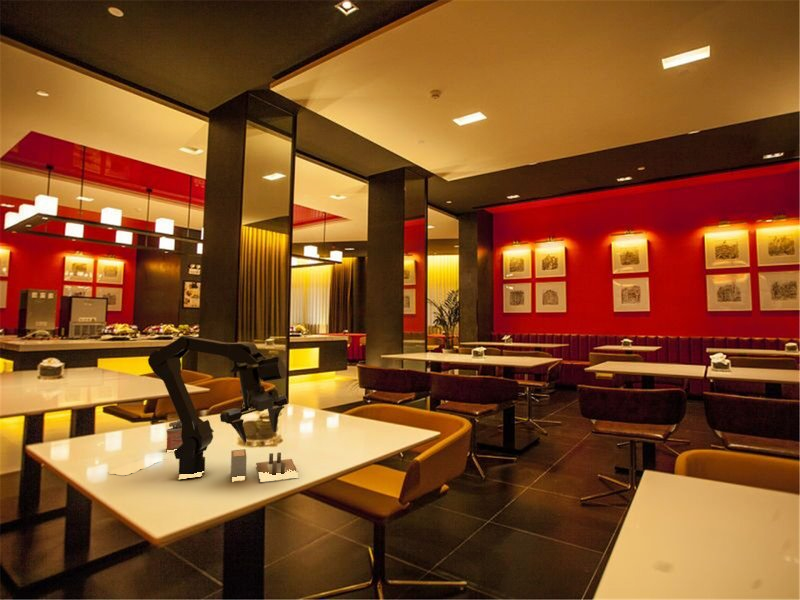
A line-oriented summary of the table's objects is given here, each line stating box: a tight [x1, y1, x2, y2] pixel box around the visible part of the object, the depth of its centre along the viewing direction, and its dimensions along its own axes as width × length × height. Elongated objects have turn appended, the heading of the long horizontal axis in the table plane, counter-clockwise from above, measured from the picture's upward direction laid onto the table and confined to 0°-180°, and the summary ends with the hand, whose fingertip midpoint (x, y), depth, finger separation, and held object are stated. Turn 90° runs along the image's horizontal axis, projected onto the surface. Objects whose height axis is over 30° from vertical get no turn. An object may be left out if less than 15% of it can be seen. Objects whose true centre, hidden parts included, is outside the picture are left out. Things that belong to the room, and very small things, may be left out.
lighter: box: [165, 419, 183, 451], centre depth 150 cm, size 8×3×10 cm, turn 149°
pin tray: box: [255, 452, 298, 475], centre depth 130 cm, size 11×14×4 cm
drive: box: [230, 448, 247, 478], centre depth 125 cm, size 4×7×7 cm, turn 23°
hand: (260, 437), depth 125 cm, fingers open, 9 cm apart
